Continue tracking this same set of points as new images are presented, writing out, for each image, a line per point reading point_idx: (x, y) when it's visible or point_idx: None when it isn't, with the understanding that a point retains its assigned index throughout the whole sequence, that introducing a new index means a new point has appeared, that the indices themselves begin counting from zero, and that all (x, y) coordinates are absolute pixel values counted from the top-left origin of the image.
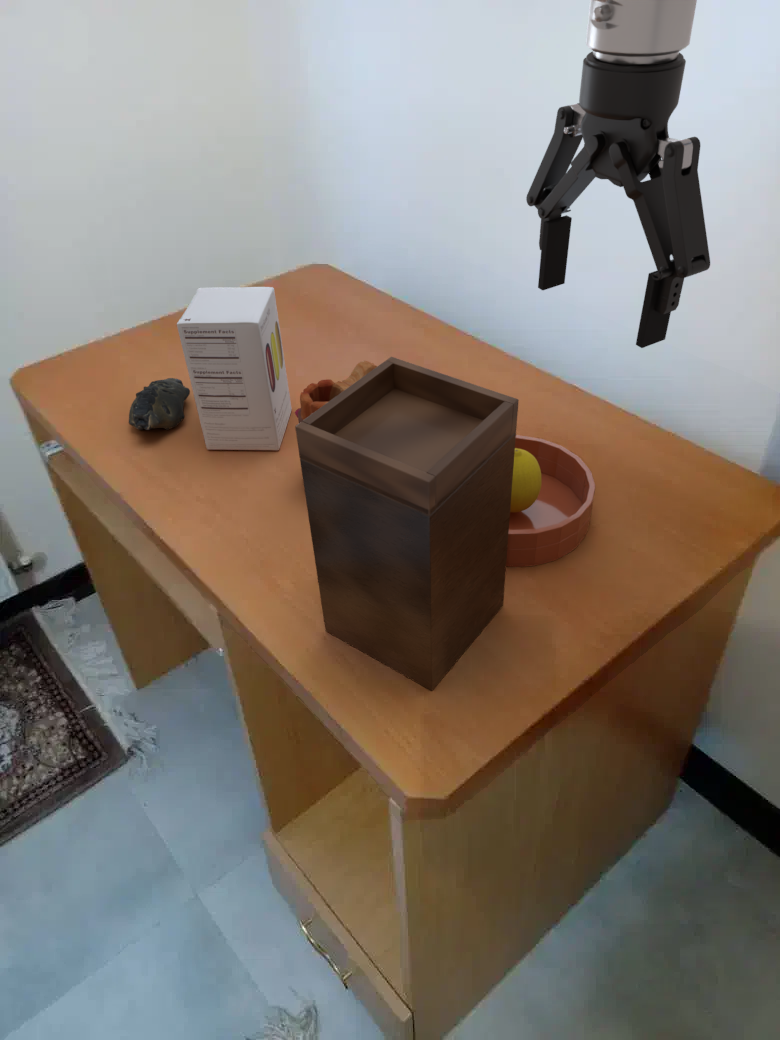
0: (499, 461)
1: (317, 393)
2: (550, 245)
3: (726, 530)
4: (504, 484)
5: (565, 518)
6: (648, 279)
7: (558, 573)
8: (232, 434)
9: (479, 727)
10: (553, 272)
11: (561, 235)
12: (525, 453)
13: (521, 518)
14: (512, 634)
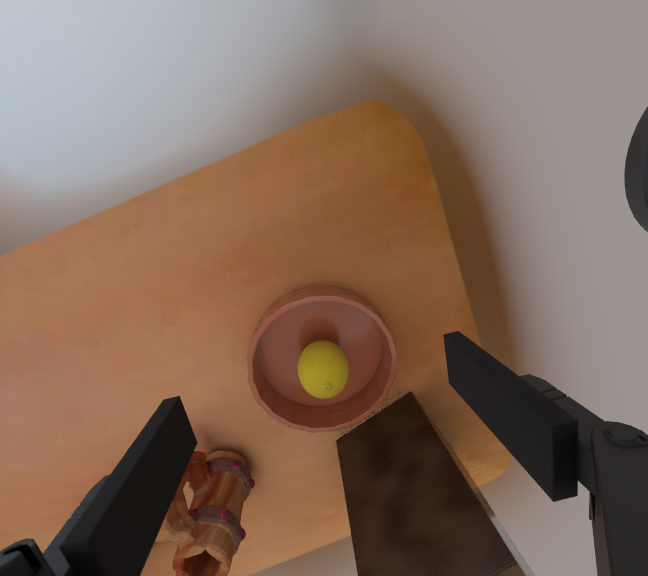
0: (518, 560)
1: (187, 562)
2: (152, 524)
3: (413, 183)
4: (487, 512)
5: (347, 314)
6: (542, 486)
7: (398, 343)
8: (151, 549)
9: (488, 434)
10: (177, 447)
11: (131, 518)
12: (327, 376)
13: None
14: (436, 394)
